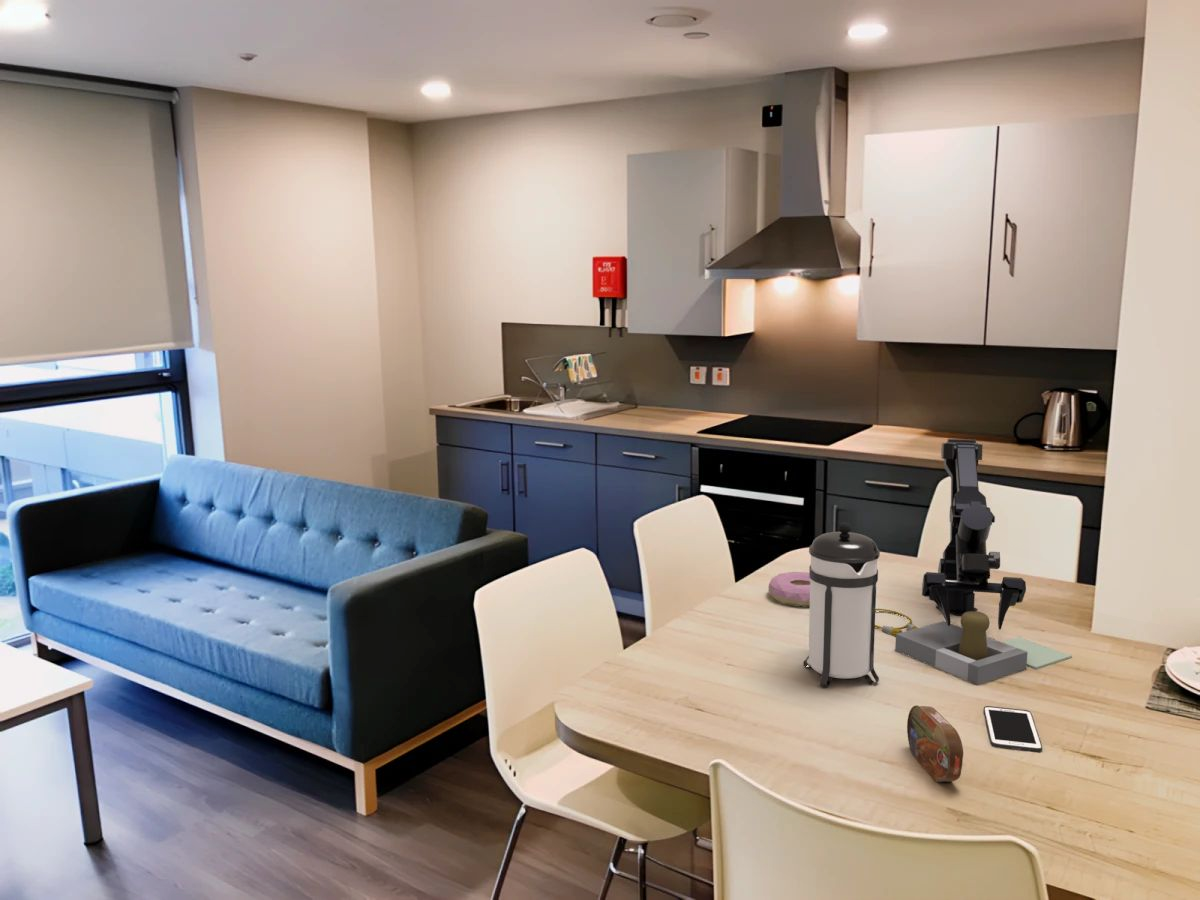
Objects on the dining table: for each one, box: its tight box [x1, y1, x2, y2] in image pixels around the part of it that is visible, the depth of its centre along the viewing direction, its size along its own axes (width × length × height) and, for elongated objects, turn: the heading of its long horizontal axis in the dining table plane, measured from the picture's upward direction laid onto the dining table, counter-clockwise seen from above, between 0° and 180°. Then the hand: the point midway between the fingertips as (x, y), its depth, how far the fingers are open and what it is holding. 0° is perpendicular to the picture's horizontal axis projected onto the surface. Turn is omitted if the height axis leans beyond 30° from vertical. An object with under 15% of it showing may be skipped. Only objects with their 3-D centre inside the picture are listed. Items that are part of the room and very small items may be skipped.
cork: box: [958, 610, 990, 661], centre depth 187 cm, size 6×6×11 cm
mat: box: [1001, 636, 1073, 670], centre depth 195 cm, size 12×11×1 cm
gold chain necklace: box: [875, 608, 919, 637], centre depth 212 cm, size 12×16×2 cm
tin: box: [906, 705, 964, 783], centre depth 150 cm, size 15×3×8 cm, turn 5°
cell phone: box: [983, 705, 1043, 753], centre depth 162 cm, size 8×15×1 cm, turn 164°
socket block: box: [894, 620, 1028, 686], centre depth 192 cm, size 20×14×4 cm
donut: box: [768, 571, 810, 607], centre depth 230 cm, size 16×15×5 cm
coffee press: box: [803, 521, 881, 688], centre depth 184 cm, size 17×16×30 cm
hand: (974, 626), depth 187 cm, fingers open, 9 cm apart
